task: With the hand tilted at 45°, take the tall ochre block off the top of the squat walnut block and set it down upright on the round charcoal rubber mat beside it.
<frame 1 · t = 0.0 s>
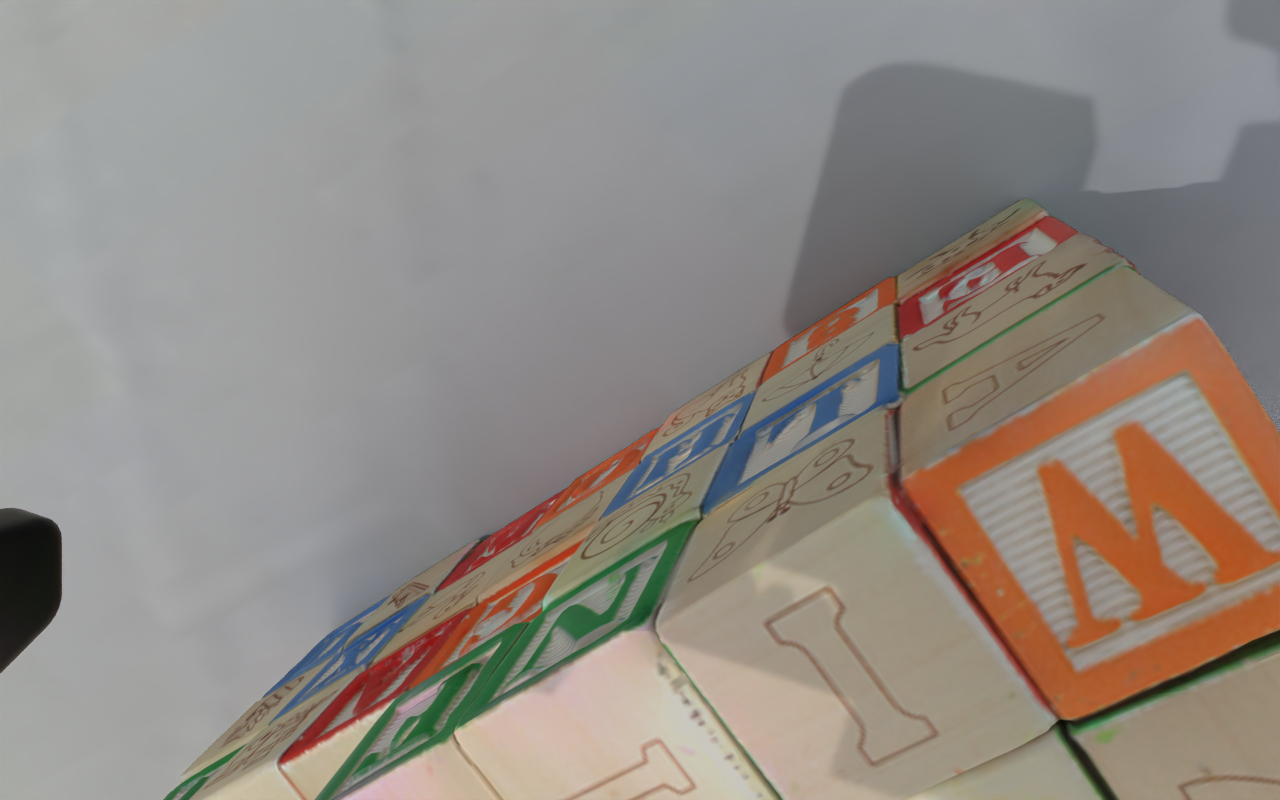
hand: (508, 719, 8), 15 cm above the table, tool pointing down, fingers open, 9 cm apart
stack of blocks: (694, 545, 24), on the table
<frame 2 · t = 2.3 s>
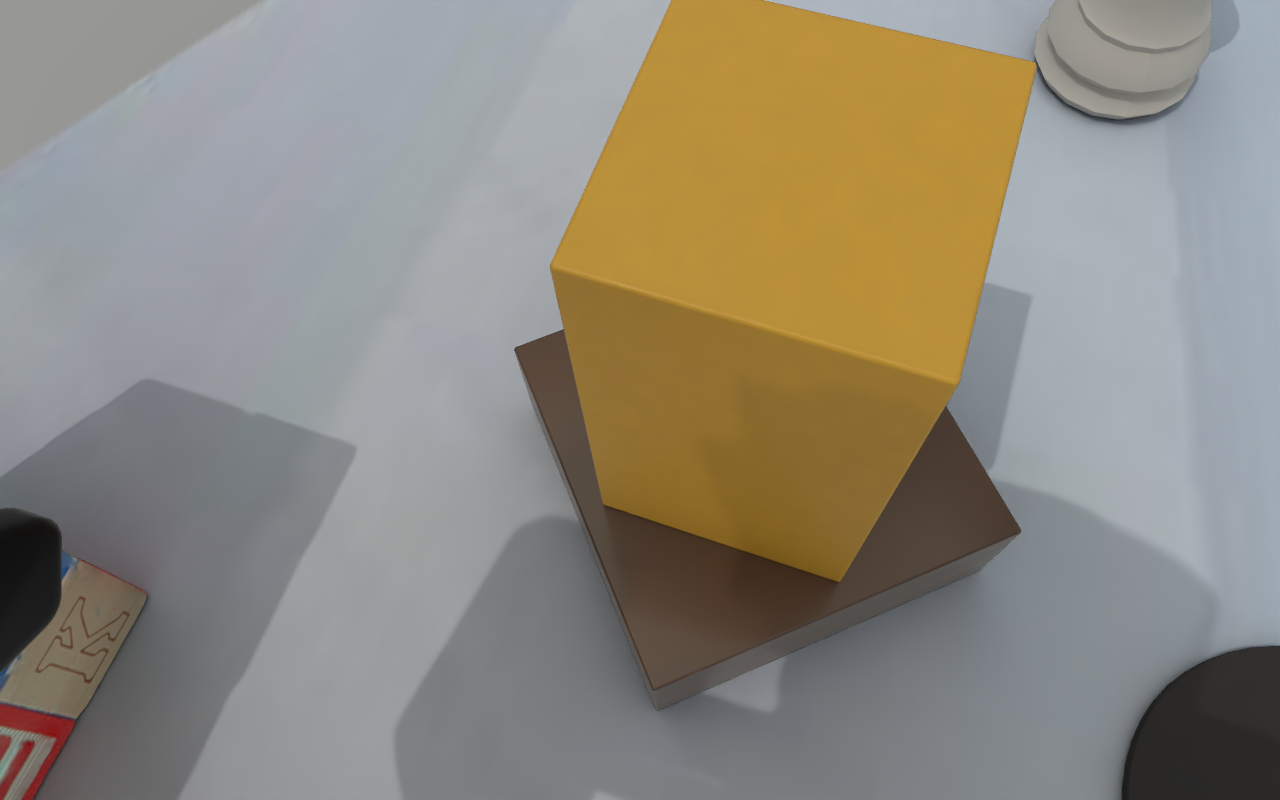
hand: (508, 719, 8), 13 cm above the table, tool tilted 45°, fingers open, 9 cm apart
ochre block: (754, 434, 20), point 3 cm above the table, touching walnut block
walnut block: (745, 483, 23), on the table, touching ochre block
rook chess piece: (1105, 72, 28), on the table
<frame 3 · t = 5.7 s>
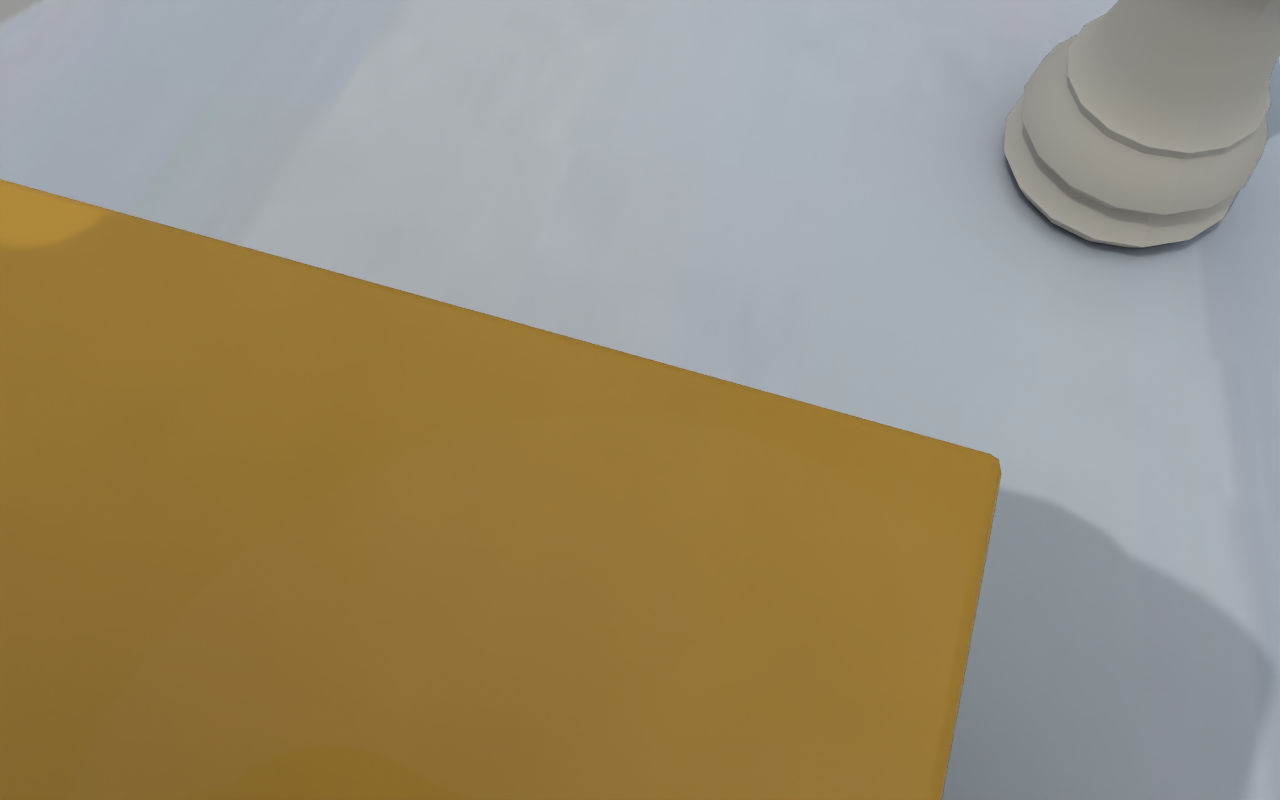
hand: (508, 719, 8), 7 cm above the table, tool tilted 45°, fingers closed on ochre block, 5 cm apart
rook chess piece: (1106, 174, 19), on the table
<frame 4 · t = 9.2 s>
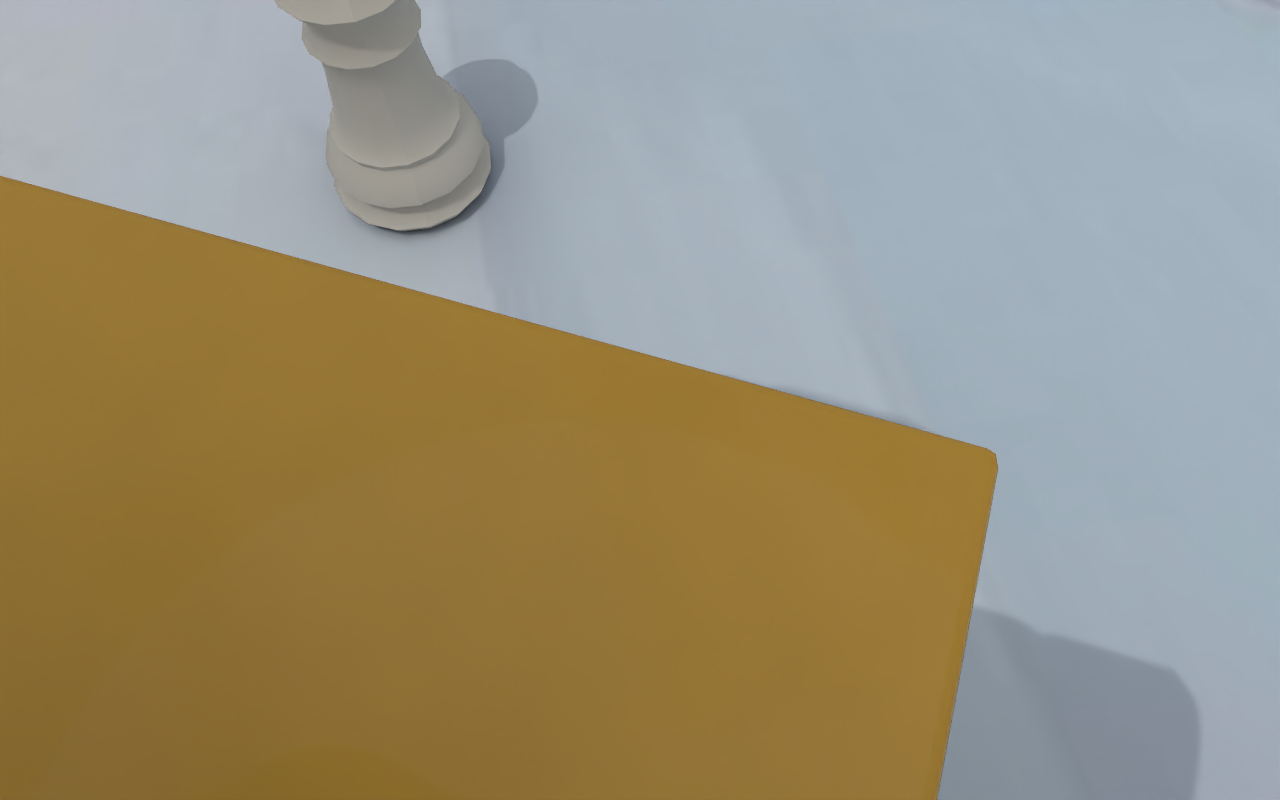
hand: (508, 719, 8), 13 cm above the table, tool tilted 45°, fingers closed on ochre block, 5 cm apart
rook chess piece: (418, 180, 28), on the table
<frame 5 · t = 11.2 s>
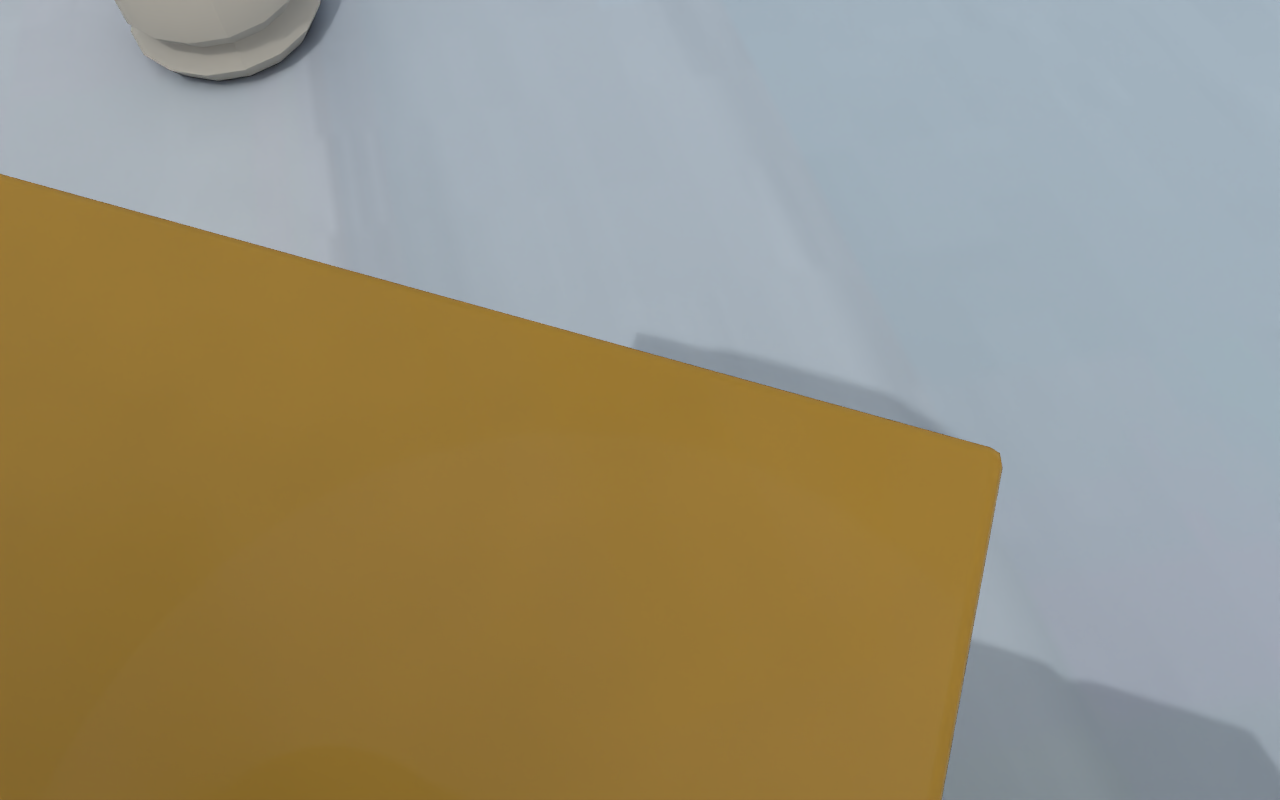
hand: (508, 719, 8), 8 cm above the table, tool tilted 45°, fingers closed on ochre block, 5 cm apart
rook chess piece: (238, 27, 23), on the table
when the fingers open (4 cm above the table, at t = 12.8 s): ochre block stays where it is, resting on rubber mat.
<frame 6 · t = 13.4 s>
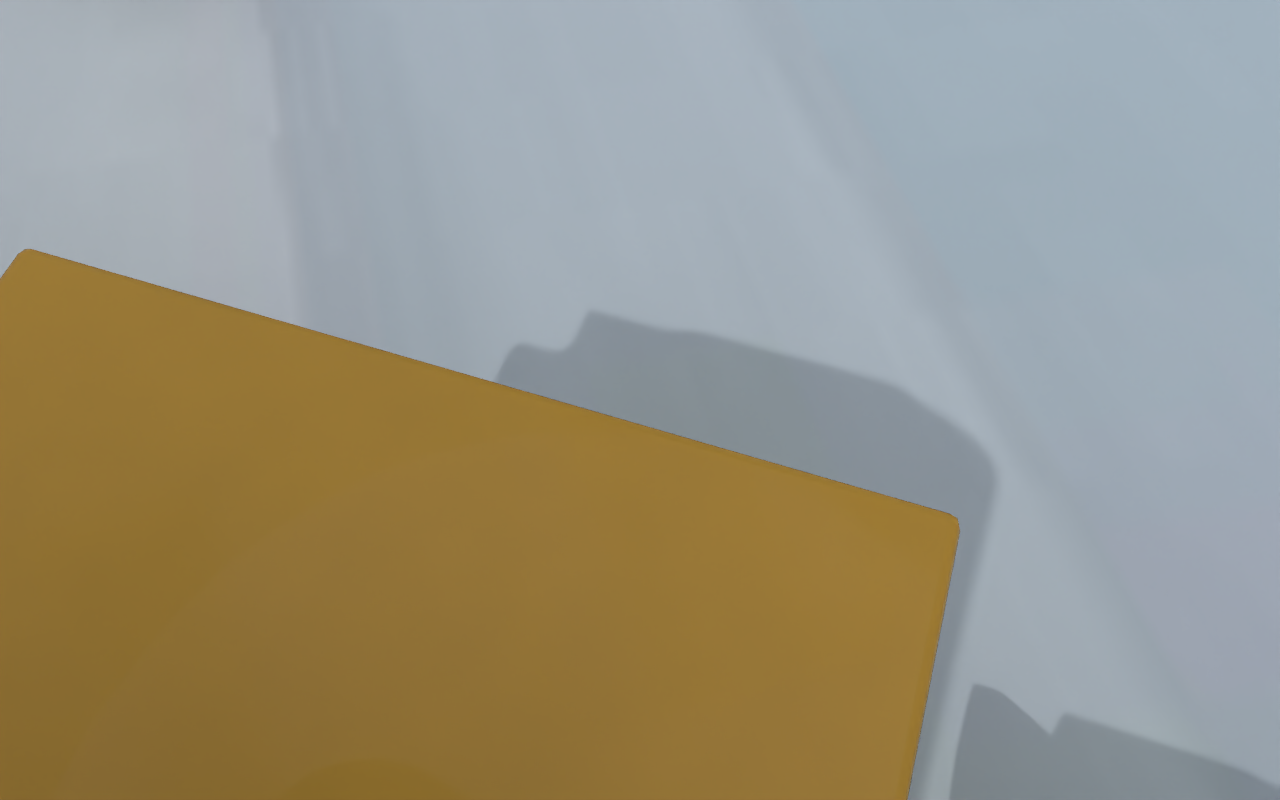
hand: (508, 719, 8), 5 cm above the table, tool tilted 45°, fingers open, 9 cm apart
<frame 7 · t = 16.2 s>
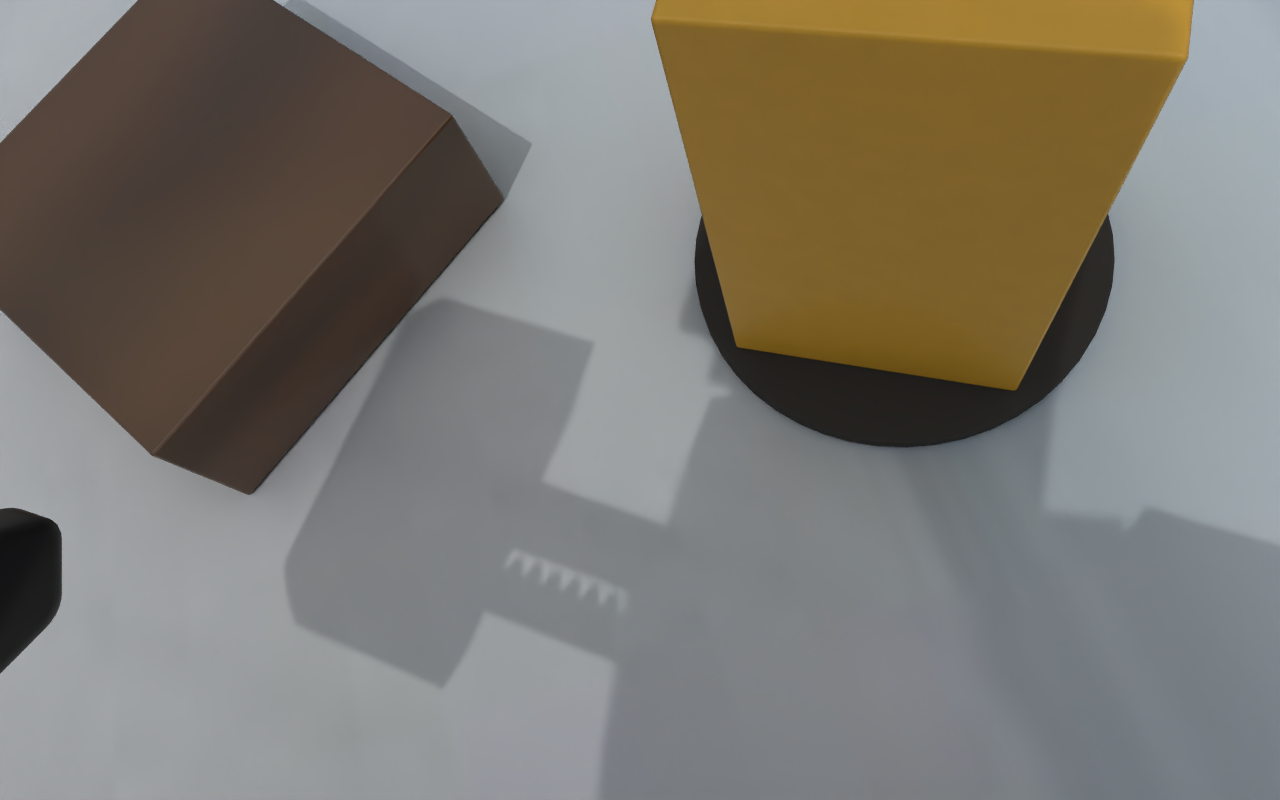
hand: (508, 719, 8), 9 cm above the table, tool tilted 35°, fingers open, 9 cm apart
ochre block: (893, 246, 18), resting on rubber mat
rubber mat: (894, 255, 19), on the table
walnut block: (259, 247, 21), on the table
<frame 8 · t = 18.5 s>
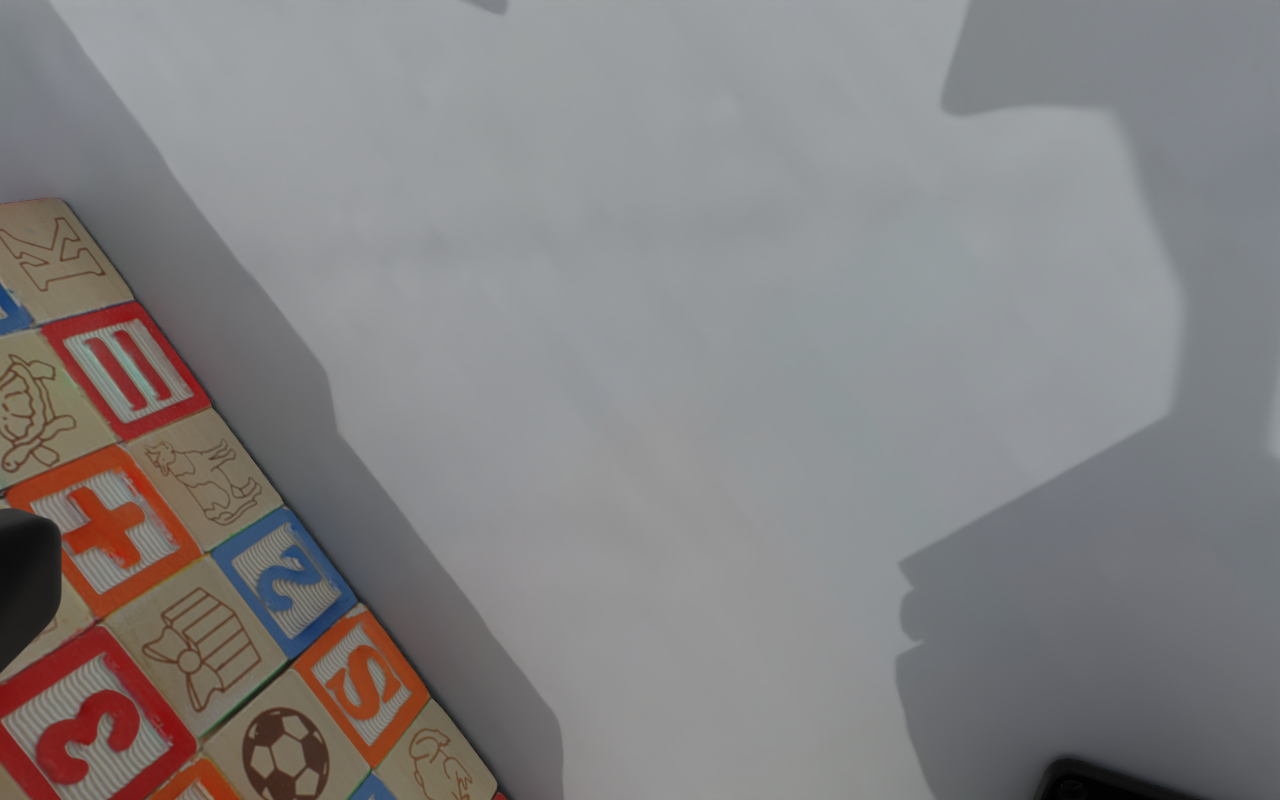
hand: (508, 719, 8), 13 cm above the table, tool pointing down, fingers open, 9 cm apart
stack of blocks: (255, 597, 26), on the table
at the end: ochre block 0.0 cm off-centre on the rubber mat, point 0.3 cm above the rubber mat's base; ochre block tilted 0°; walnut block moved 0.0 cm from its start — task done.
